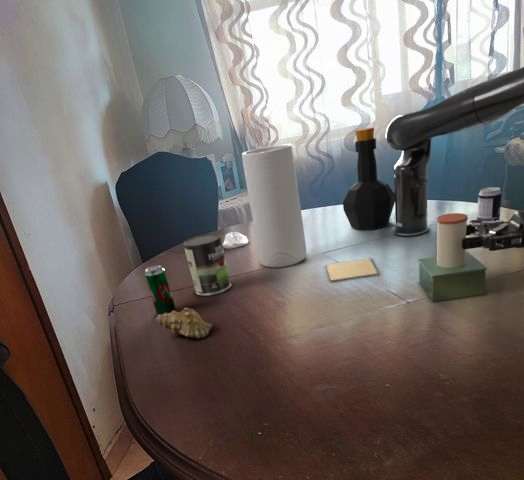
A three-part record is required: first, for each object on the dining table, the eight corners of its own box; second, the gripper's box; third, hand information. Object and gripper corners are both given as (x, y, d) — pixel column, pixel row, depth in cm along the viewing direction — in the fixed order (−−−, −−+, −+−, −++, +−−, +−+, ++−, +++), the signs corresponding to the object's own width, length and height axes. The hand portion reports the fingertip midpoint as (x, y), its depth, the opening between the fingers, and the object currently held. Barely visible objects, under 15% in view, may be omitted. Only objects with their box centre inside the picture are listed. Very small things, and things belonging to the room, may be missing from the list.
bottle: (363, 217, 167) (357, 126, 153) (404, 219, 156) (402, 121, 141) (336, 230, 158) (327, 135, 144) (377, 233, 147) (372, 131, 132)
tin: (418, 283, 108) (418, 259, 105) (466, 276, 107) (467, 251, 104) (432, 302, 99) (432, 276, 96) (485, 294, 97) (487, 267, 95)
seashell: (181, 357, 103) (150, 324, 100) (184, 346, 111) (155, 315, 108) (213, 332, 102) (182, 297, 99) (214, 322, 109) (185, 290, 106)
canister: (432, 261, 103) (433, 216, 98) (460, 256, 102) (461, 211, 97) (441, 270, 98) (441, 223, 93) (469, 265, 97) (472, 218, 92)
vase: (313, 251, 142) (300, 141, 127) (297, 268, 131) (280, 150, 116) (271, 252, 149) (254, 147, 133) (252, 269, 138) (231, 156, 123)
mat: (326, 266, 129) (326, 264, 129) (369, 259, 128) (369, 258, 128) (330, 281, 119) (330, 280, 118) (378, 274, 117) (378, 273, 117)
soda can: (158, 310, 122) (144, 267, 116) (176, 306, 122) (164, 263, 116) (155, 317, 117) (141, 273, 112) (175, 314, 117) (162, 269, 112)
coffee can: (238, 282, 130) (228, 233, 123) (217, 297, 123) (204, 245, 116) (210, 280, 135) (198, 233, 129) (187, 294, 128) (174, 245, 121)
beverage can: (500, 234, 127) (504, 190, 121) (478, 237, 129) (480, 192, 123) (496, 229, 132) (499, 185, 126) (474, 231, 133) (476, 188, 128)
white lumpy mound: (231, 227, 168) (252, 228, 163) (234, 239, 171) (254, 240, 165) (213, 236, 162) (234, 237, 156) (216, 248, 164) (236, 249, 158)
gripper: (527, 200, 99) (448, 212, 102) (558, 217, 87) (467, 229, 89) (524, 235, 103) (447, 245, 105) (552, 255, 90) (465, 266, 93)
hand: (456, 238), depth 97 cm, fingers open, 8 cm apart
